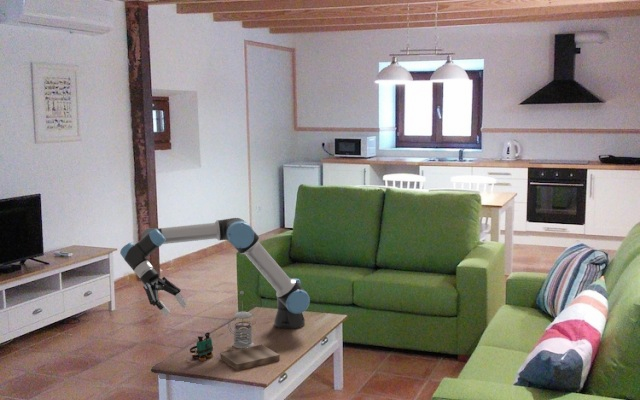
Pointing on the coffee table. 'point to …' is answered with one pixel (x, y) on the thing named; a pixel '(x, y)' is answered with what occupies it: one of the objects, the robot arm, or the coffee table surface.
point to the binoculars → (203, 348)
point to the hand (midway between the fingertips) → (176, 310)
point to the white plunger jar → (242, 330)
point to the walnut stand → (249, 357)
